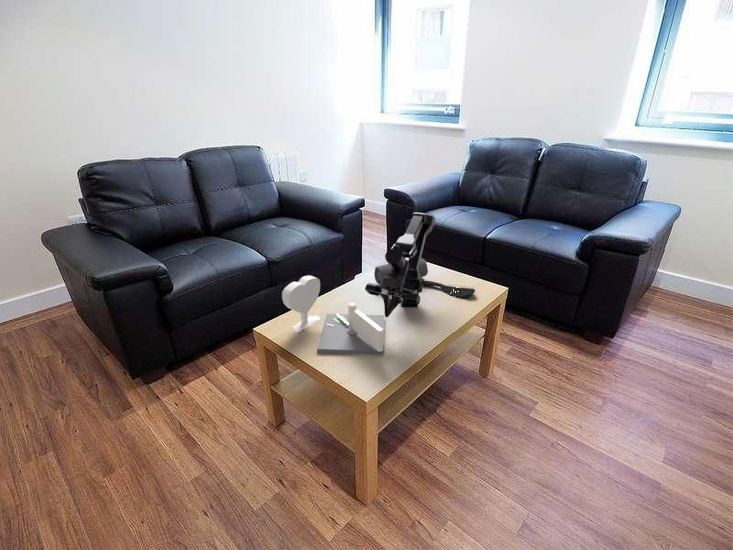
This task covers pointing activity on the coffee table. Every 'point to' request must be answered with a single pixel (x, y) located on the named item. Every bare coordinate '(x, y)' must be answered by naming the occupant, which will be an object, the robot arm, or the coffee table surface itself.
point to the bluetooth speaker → (385, 270)
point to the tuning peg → (364, 327)
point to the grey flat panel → (345, 336)
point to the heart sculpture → (302, 299)
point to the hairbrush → (448, 289)
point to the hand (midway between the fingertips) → (386, 317)
